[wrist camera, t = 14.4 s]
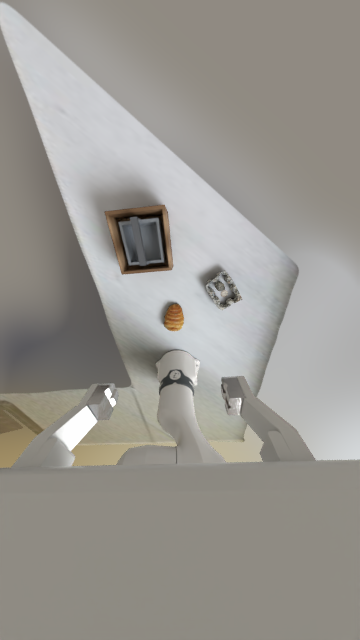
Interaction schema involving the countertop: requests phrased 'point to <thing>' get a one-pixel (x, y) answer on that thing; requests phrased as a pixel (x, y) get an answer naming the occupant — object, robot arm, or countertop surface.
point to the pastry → (174, 318)
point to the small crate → (143, 241)
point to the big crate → (114, 228)
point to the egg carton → (223, 291)
